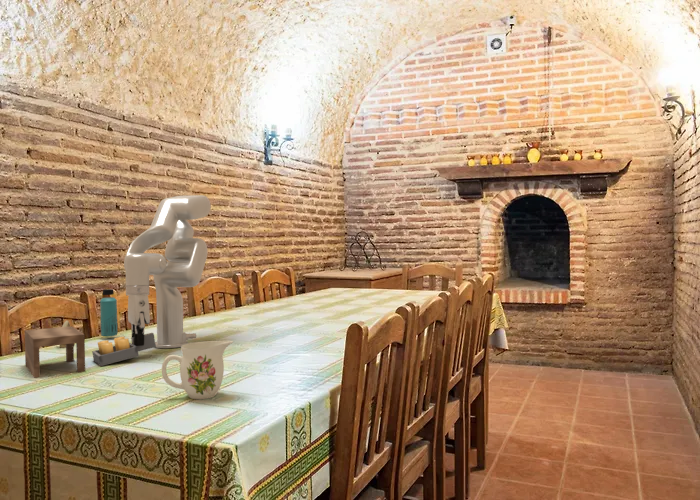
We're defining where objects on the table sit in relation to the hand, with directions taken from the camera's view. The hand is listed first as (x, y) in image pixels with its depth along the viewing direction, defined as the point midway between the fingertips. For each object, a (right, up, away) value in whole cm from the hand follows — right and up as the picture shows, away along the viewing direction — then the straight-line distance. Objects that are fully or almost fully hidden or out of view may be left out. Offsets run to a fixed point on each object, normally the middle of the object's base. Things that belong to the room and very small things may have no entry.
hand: (137, 344), depth 203 cm
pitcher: (+32, -6, -47) cm, 58 cm away
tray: (-3, -3, -2) cm, 5 cm away
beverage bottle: (-25, -4, +39) cm, 47 cm away
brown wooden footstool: (-21, -5, -14) cm, 26 cm away
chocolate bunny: (-35, -5, +24) cm, 43 cm away
